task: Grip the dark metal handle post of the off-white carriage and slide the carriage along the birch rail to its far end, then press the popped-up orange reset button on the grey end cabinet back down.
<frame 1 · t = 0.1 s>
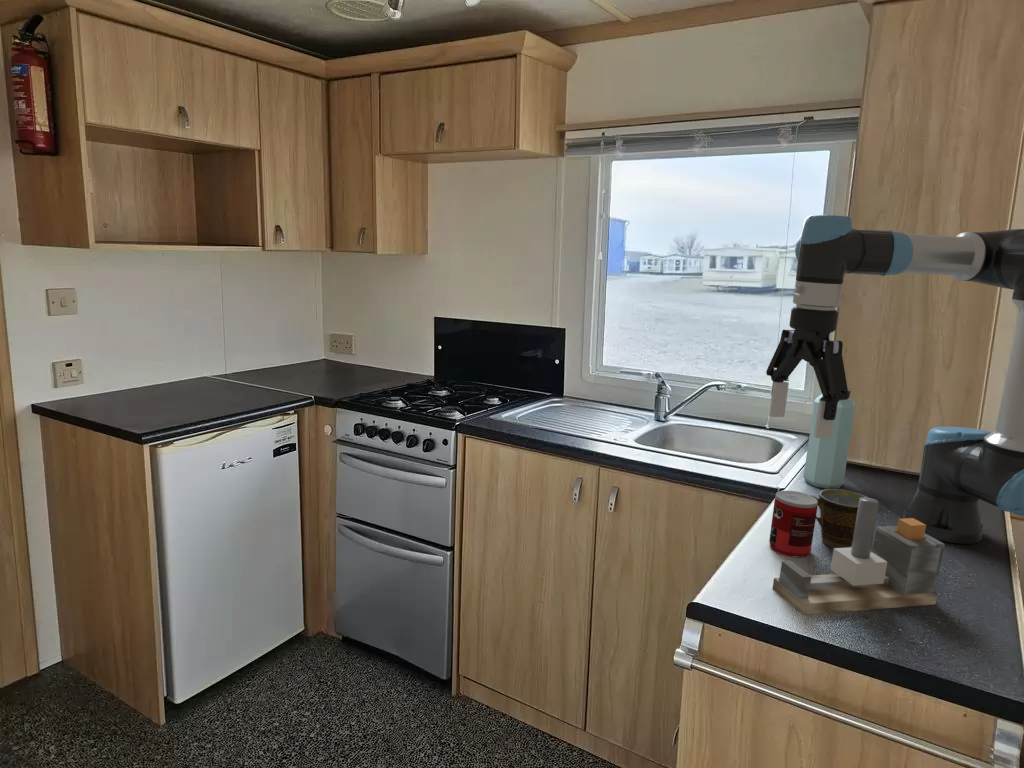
hand: (798, 426, 128), 28 cm above the counter, tool pointing down, fingers open, 13 cm apart
rail stand: (853, 596, 126), on the counter
carriage: (862, 538, 124), point 11 cm above the counter, slide at 0.0 cm
canned food: (789, 550, 144), on the counter
water bottle: (822, 484, 185), on the counter
reset button: (910, 529, 126), point 12 cm above the counter, slide at 0.0 cm
ceramic cup: (830, 543, 149), on the counter
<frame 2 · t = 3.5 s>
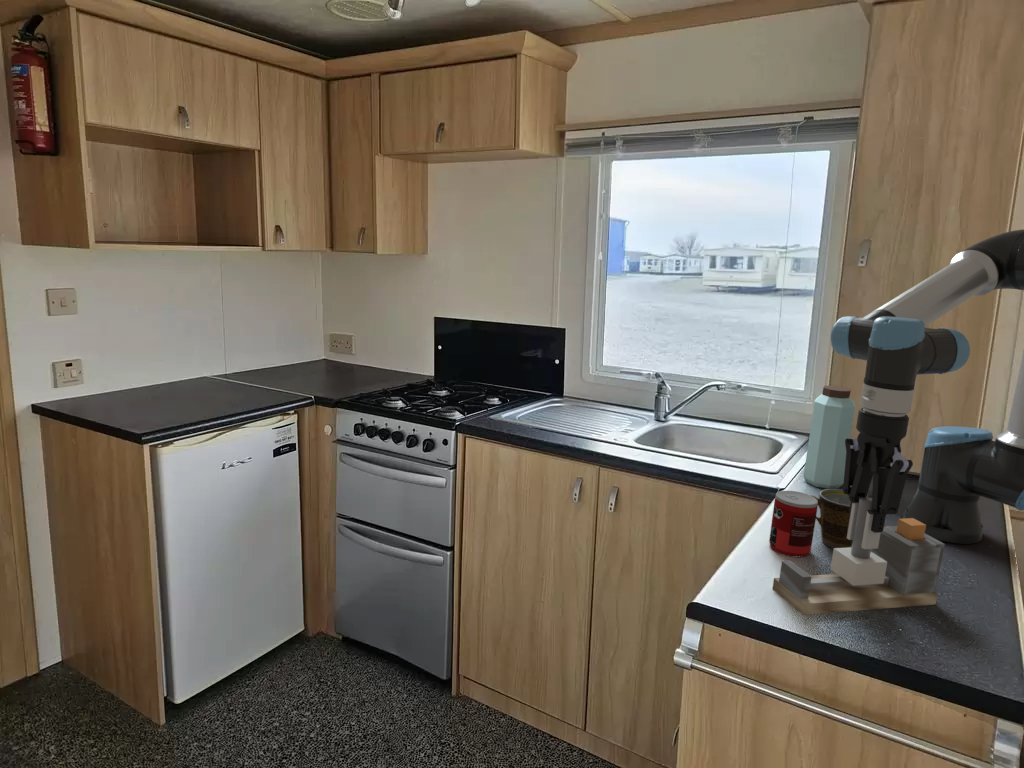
hand: (862, 542, 124), 10 cm above the counter, tool pointing down, fingers closed on carriage, 3 cm apart
carriage: (862, 538, 124), point 11 cm above the counter, slide at 0.0 cm, touching gripper
everything else where it was.
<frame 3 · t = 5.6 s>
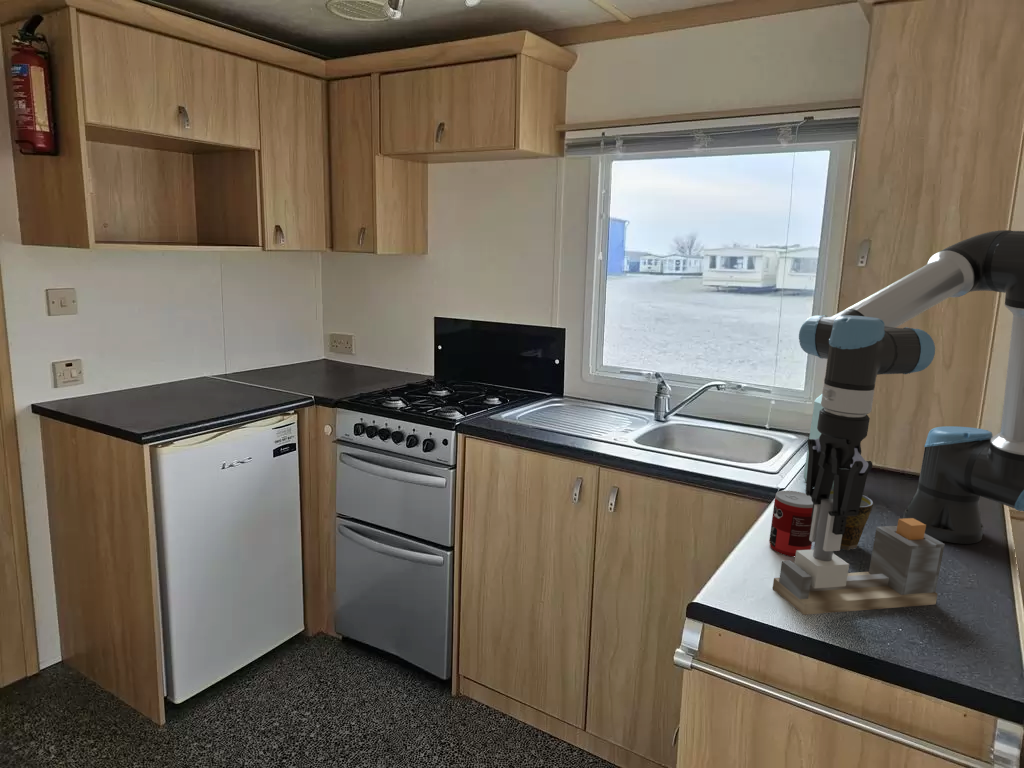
hand: (824, 545, 122), 10 cm above the counter, tool pointing down, fingers closed on carriage, 3 cm apart
carriage: (824, 540, 122), point 11 cm above the counter, slide at 7.5 cm, touching gripper
everything else where it was.
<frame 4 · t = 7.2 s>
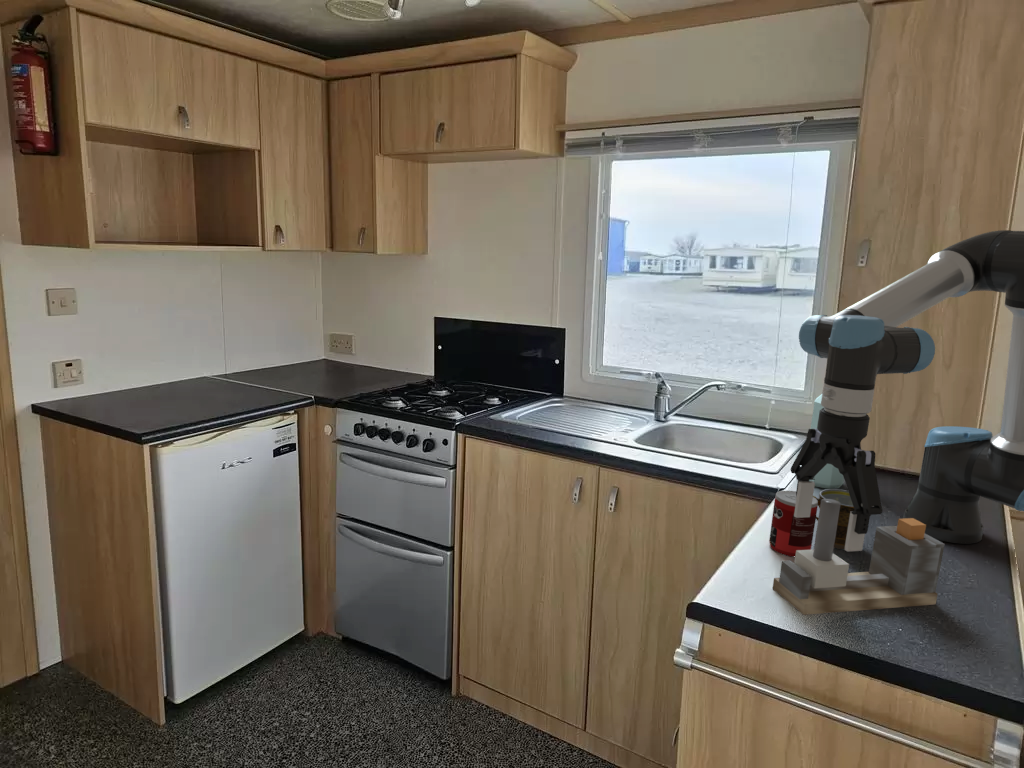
hand: (826, 532, 122), 12 cm above the counter, tool pointing down, fingers open, 13 cm apart
carriage: (824, 540, 122), point 11 cm above the counter, slide at 7.5 cm
everything else where it was.
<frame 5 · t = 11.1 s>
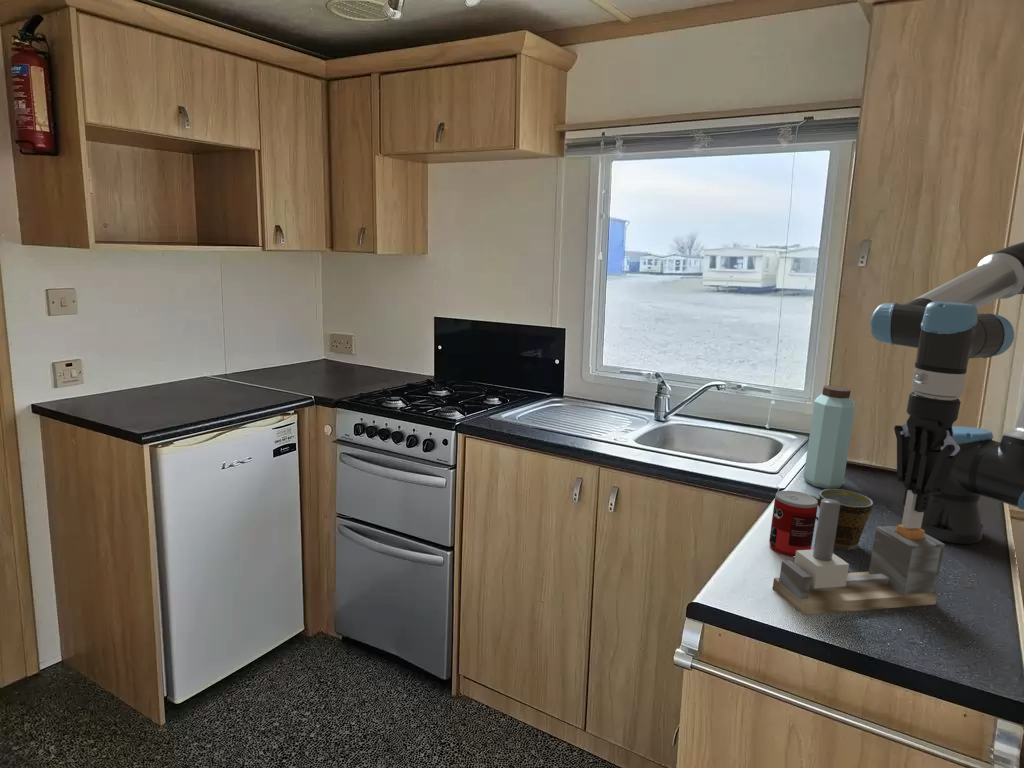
hand: (911, 526, 126), 13 cm above the counter, tool pointing down, fingers closed
reset button: (909, 535, 126), point 11 cm above the counter, slide at -1.1 cm, touching gripper
everything else where it was.
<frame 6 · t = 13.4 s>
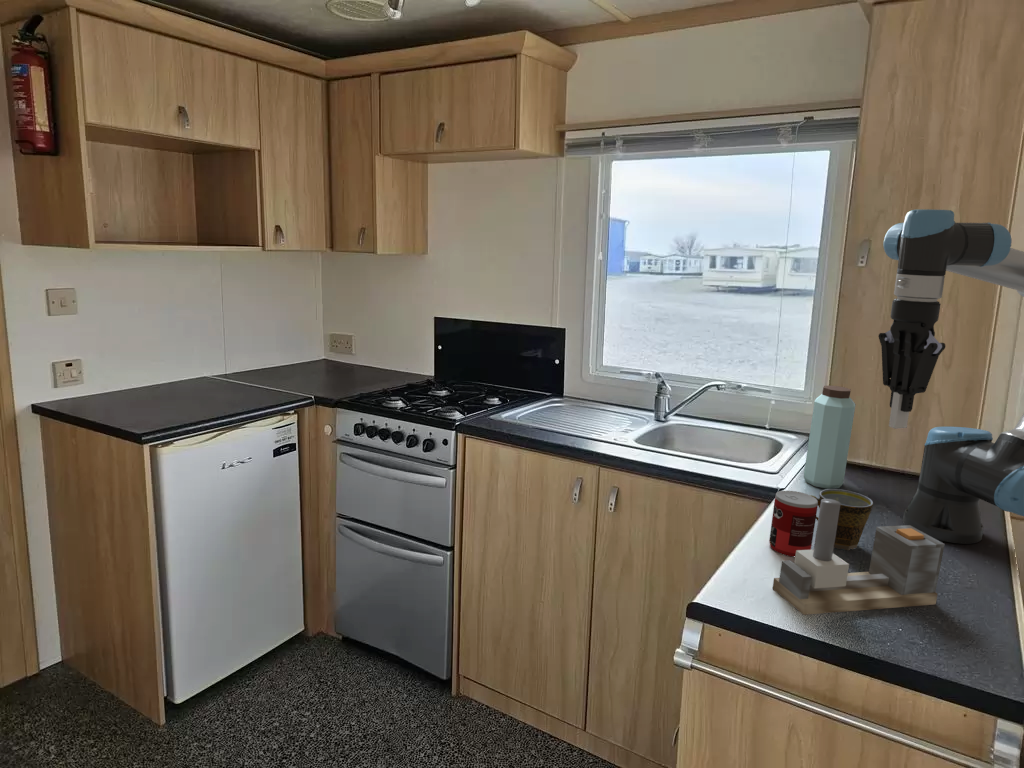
hand: (897, 427, 133), 28 cm above the counter, tool pointing down, fingers closed
reset button: (908, 540, 126), point 10 cm above the counter, slide at -1.9 cm
everything else where it was.
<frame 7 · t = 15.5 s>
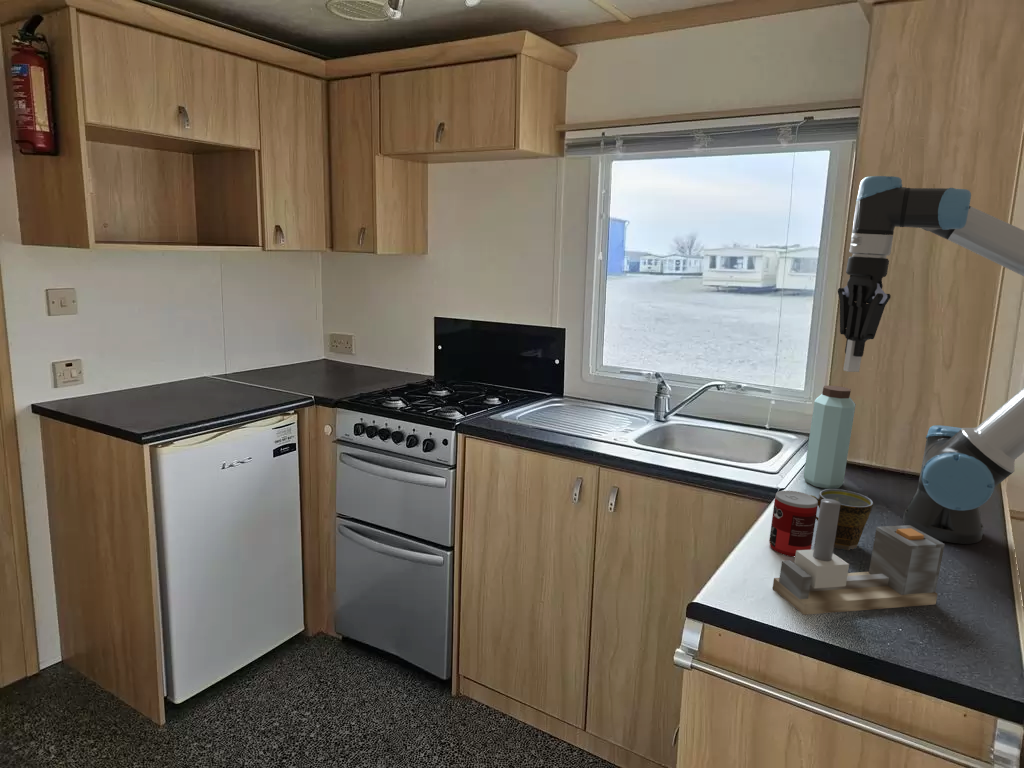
hand: (851, 370, 150), 34 cm above the counter, tool pointing down, fingers closed
nothing on the counter moved.
at the end: carriage slide at 7.5 cm; reset button slide at -1.9 cm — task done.
